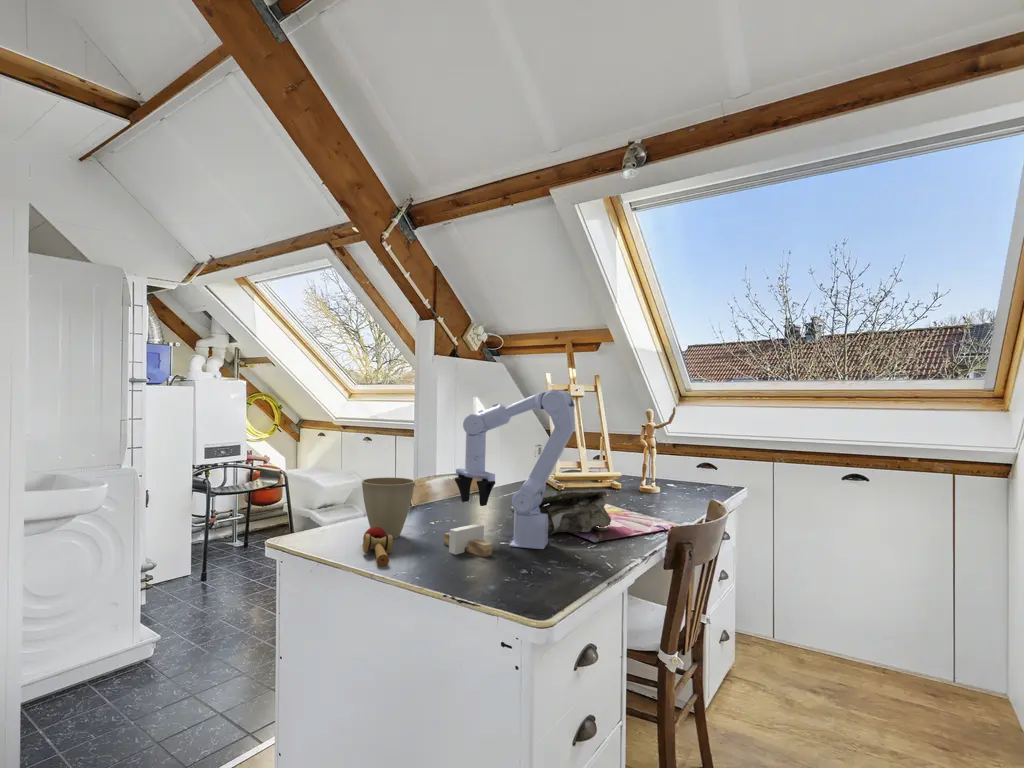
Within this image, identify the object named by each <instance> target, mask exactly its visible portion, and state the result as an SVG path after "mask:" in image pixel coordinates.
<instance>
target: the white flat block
mask: <svg viewBox="0 0 1024 768" xmlns="http://www.w3.org/2000/svg"><path fill="white" fill-rule="evenodd" d="M449 532H450V533H449ZM449 532H448V533H449V546H448V553H449V554H452V555H454V556H455V555H459V554H463V553H465V552H466V551H465V548H466V547H469V540H473V539H478V540H481V541H484V540H485V539H484V538H485V537H484V536H485V525H484V524H480V523H473V524H470V525H469V524H468V525H464V526H459V527H456V528H455V527H454V528H450V529H449Z"/></svg>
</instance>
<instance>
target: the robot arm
mask: <svg viewBox="0 0 1024 768" xmlns="http://www.w3.org/2000/svg"><path fill="white" fill-rule="evenodd" d="M575 407H576V404H575V402H574V400H573V397H572V395H571V394H570V393H569V392H568V391H566V390H563V389H562V390H561V389H560V390H559V389H558V390H557V389H549V390H547V391H543V392H539V393H536V394H532V395H531V396H528V397H526V398H523V399H521V400H519V401H517V402H514V403H512V404H510V405H508V406H506V405H504V404H501V403H500V404H498V403H495V404H492V407H491V408H488V409H484V410H483V409H481V410H479V411H478V413H477V414H474V413H471V414H469V415H468V416H466V417H465V418H464V420H463V424H462V427H463V430H464V432H465V459H464V460H465V461H464V462H465V464H464V468H456V469H455V476H457V477H455V478H454V481H455V483H456V485H457V488H458V490H459V494H460V498H461V502H462V503H465V502H466V503H467V502H469V501H470V495H471V486H472V482H473V479H478V480H476V485H477V489H478V495H479V496H478V498H479V499H478V501H479V506H480V507H485V506H488V502H489V497H490V495H491V492H492V490H493V488H494V487H495V485H496V474H495V473H493V472H488V471H486V443H487V442H486V441H487V439H486V438H487V436H486V435H487V432H488V431H491V430H493V429H496V428H499V427H501V426H503V425H506V424H508V423H510V421H511V418H513V417H515V416H518V415H521V414H523V413H526V412H527V413H528V412H529V411H533V410H535V409H536V410H537V409H538V410H545V412H546V413H547V414H548V416H550V418H551V422H552V424H553V426H554V428H553V430H552V432H551V434H550V436H549V438H548V440H547V442H546V443H545V446H544V447H543V449H542V451H541V453H540V455H539V457H538V459H537V461H536V463H535V464H534V466H533V469H532V471H531V472H530V474H529V476H528V478H527V479H526V480H525V481H524V482H523V483H522V485H521V487H520V488H519V489H518V490H517V491H516V492H514V494H513V495H512V497H511V505H512V508H513V510H514V511H513V512H514V513H513V516H514V517H513V540H512V541H511V542H510V543H509V547H511V548H525V549H535V550H544V549H545V548H546V546H547V545H548V543H549V535H548V515H547V514H543V513H540V508H539V505H540V504H541V503H542V500H543V498H544V492H545V490H546V485H547V482H548V480H549V478H550V477H551V475H552V472H553V470H555V467H556V466H557V463H558V461H559V459H560V457H561V456H562V454H563V452H564V450H565V448H566V446H567V445H568V443H569V441H570V439H571V437H572V434H573V433H574V431H575V429H576V424H575V423H576V420H575Z"/></svg>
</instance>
